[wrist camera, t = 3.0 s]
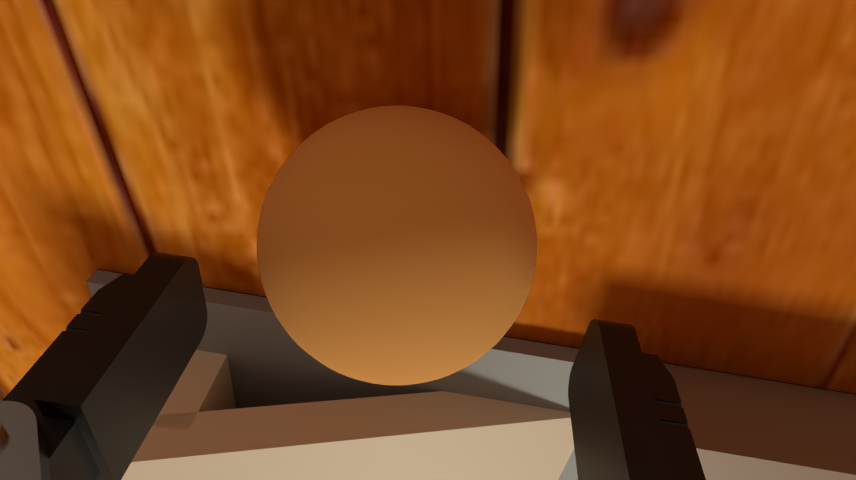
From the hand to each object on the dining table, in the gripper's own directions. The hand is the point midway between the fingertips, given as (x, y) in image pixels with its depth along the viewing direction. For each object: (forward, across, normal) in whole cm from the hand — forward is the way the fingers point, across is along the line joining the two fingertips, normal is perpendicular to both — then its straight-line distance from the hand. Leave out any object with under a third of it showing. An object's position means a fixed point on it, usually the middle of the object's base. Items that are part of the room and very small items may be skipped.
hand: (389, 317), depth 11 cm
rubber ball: (+2, 0, -1) cm, 2 cm away
